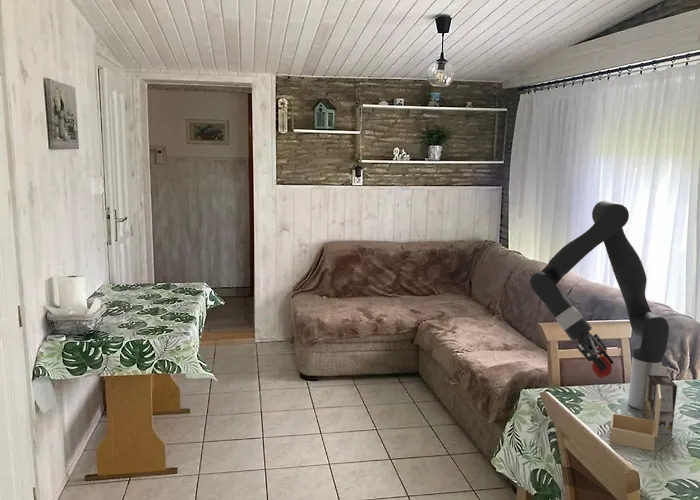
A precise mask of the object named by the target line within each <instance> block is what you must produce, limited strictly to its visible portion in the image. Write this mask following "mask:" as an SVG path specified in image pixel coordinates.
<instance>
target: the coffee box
mask: <svg viewBox="0 0 700 500" xmlns="http://www.w3.org/2000/svg"><path fill="white" fill-rule="evenodd" d="M658 384H660V392H661V405H660V415H659V424H658V434H660V435H661V434H662V435H668V436H671V435H672V434H673V429H674V428H673V426H674V418H675V417H674V416H675V407H676V403H677V402H676V401H677V400H676V399H677V394H678V393H677V391H678V385H677V384H676V383H675V382H674V381H673V380H672V379H671V378H670V377H669V376H667V375H661V376H657V375H647V385H646V395H645V407H644V410H643V418H642V419H648V420H653V421H654V415H655V405H656V396H657V386H658Z"/></svg>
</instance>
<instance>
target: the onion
mask: <svg viewBox="0 0 700 500" xmlns="http://www.w3.org/2000/svg"><path fill="white" fill-rule="evenodd" d="M599 358H601V360H602V361H603V362H604V363H605V365H606V366H607V368H606V369H605V370H603V371H601V370H600V369H599V368H598V366H597V365H596V364H595V363H594V361H593V362H592V364H591V369H592V371H593V373H594V374H595V375H596V376H597V378H599V379H603V378H605V377H608V376H609V375H610V374H611V373H612V369H613V368H612V364H611V363H610V361H609V360H608V359H607V358H606V357H605V356H604V355H603V354H601V356H599Z"/></svg>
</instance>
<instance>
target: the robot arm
mask: <svg viewBox="0 0 700 500" xmlns="http://www.w3.org/2000/svg"><path fill="white" fill-rule="evenodd" d="M591 211H592V212H591V217H592V220H593V221H592V222H593V225H591V227H590V228H588V229H587V230H586V231H585V232H583V233H582V234H581V235H579V236H578V237H576V238H574V239H573V240H571V241H569V242H567V243H566V244H565V245H564V246H563V247H562V248H561V249H559V251H558V252H557V253H555V254H554V256H553V257H552V258H551V259H550V260H549V261H548V263H547V265H546V266H545V267H544V268H542V270H541V271H540V272H539V271H538V272H536V273H534V274H532V276H531V277H530V280H529V285H530V288H531V290H532V291H533V292H534V293H535V294H536V296H537V297H539V299H540V300H541V302H543V303H544V305H545V306H546V307H547V309H548V311H549V312H550V314H551V316H553V317H554V318H555V320H556V321H557V323H558V325H559V326H560V327H561V329H562V330H563V331H564V333H565V334H566V335H567V336H568V338H569V339H570V340H571V342H576V341H577V342H578V345H576V349H577V350H578V351H579V352H580V354H582V355H583V356H584V358H586V360H587V361H588V362H592V363H593V362H594V363H595V364H596V365H597V366H598V368H599V369H600V370H601V371H603V370H605V369H606V368H607V366H606V365H605V363H604V362H603V361H602V360H601V358H599V357H600V356H601V354H603V355H604V356H605V357H606V358H607V359H608V360H609V361H610V363H611V365H613V364H614V360H613V359H612V358H611V356H610V355H608V353H607V350H608V348H607V346H606V345H605V343H604V342H603V340H602V339H601V337H600V336H599V335H598V334H597V333H595V334H594V335H593V334H591V332H590V331H591V330H592V326H591V325H590V323H589V322H588V321H587V320H586V319H585V318H584V316H583V315H582V314H581V312H580V311H579V310H578V309H577V308H576V307H575V306H574V305H573V303H571V301H570V300H569V298H567V297H566V296H565V295H564V294H563V293H562V291H561V290H560V289H559V288H558V286H557V285H558V284H559V282H560V281H561V280H562V279H563V277H564V276H566V275H567V274H568V273H569V272H570V271H571V270H572V269H574V267H576V265H577V264H579V262H581V260H583V259H584V258H585V257H586V256H587V255H588V254H590V253H591V252H592V251H593V250H594V249H595V248H596V247H597V246H599V245H600V244H602V243H603V244H604V246H605V251H606V254H607V256H608V259H609V262H610V266H611V267H612V272H613V275H614V277H615V280H616V283H617V285H618V287H619V290H620V293H621V296H622V298H623V301H624V304H625V307H626V310H627V315H628V319H629V323H630V326H631V327H630V328H631V329H632V331H633V332H634V333H635V335H637V336H639V337H640V338H641V342H640V346H637V347H634V348H633V351H632V358H631V369H630V379H629V390H628V401H627V404H628V406H630V407H632V408H634V409H636V410H640V411H644V407H645V395H646V385H647V375H657V376H662V366H663V358H664V356H665V354H666V351H667V348H668V341H669V336H670V325H669V322H668V320H667V319H666V318H665V317H663V316H661V315H659V314H656V313H654V312H653V311H652V309H651V308H650V305H649V304H648V301H647V299H646V288H647V280H648V279H647V274H646V271H645V268H644V265H643V263H642V260H641V257H640V256H639V254H638V253H637V251H636V250H635V248H634V247H633V245H632V244H631V242H630V241H629V240H628V238H627V236H626V234H625V232H624V227H625V225H626V224H627V223H628V222H629V221H628V220H629V218H630V214H629V212H630V211H629V209H628V208H627V207H626V206H625V205H624V204H621V203H620V202H619V203H618V202H616V201H611V200H601V201H599V202H596V204H595V205H594V206H593V208H592V210H591Z"/></svg>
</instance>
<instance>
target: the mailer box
mask: <svg viewBox="0 0 700 500" xmlns="http://www.w3.org/2000/svg"><path fill="white" fill-rule="evenodd" d="M660 405H661V392H660V384H658V386H657V396H656V405H655V415H654V421H653V420H648V419H643V418H641V417H637V416H631V415H624V414H620V413H616V412H615V413H614V412H611V419H610V431H609V443H612V444H613V443H614V444H618V445H624V446H628V447H633V448H638V449H643V450H647V451H651V452H653V451H655V444H656V438H657V437H658V434H659V433H658V424H659V415H660Z"/></svg>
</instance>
